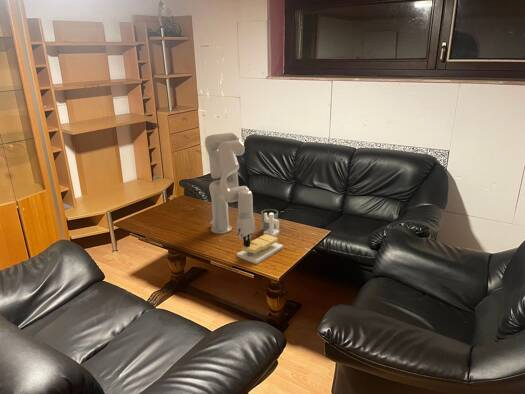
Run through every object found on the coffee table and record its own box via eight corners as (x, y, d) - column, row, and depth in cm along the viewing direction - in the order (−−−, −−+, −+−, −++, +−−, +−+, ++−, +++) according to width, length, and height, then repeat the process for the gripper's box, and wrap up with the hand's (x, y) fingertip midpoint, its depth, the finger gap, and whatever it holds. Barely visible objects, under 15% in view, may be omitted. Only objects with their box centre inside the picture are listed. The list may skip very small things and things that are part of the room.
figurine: (276, 240, 226) (275, 216, 221) (261, 237, 230) (261, 214, 225) (281, 236, 232) (281, 212, 227) (267, 233, 236) (267, 210, 231)
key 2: (250, 244, 213) (250, 241, 212) (257, 241, 217) (257, 237, 216) (263, 249, 207) (263, 246, 206) (270, 245, 211) (270, 242, 211)
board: (236, 256, 209) (236, 249, 208) (264, 241, 226) (264, 235, 225) (256, 264, 201) (256, 257, 200) (283, 247, 217) (283, 241, 216)
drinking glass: (276, 234, 235) (276, 215, 231) (260, 232, 237) (259, 214, 232) (279, 227, 244) (279, 209, 240) (263, 226, 246) (263, 208, 242)
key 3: (242, 250, 208) (241, 247, 207) (249, 246, 212) (249, 243, 212) (254, 253, 202) (254, 249, 201) (262, 249, 206) (261, 245, 206)
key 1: (258, 240, 218) (258, 237, 217) (265, 236, 222) (265, 233, 221) (271, 244, 212) (271, 241, 211) (278, 240, 216) (278, 237, 216)
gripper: (249, 208, 210) (251, 239, 216) (230, 216, 199) (232, 248, 205) (260, 211, 205) (261, 242, 212) (241, 220, 195) (242, 253, 201)
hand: (246, 245), depth 208 cm, fingers closed
